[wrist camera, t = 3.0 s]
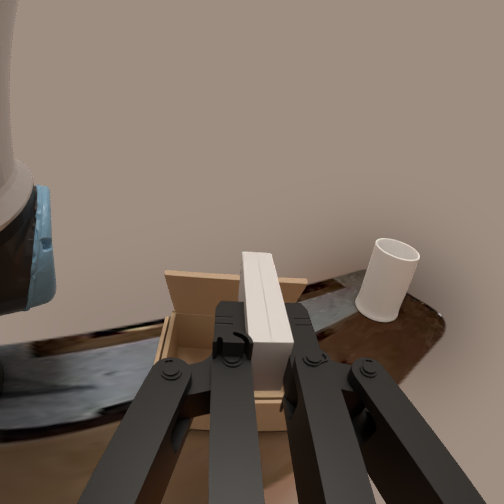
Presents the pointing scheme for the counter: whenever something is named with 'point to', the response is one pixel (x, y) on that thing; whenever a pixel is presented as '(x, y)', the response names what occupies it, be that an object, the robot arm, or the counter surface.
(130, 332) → the counter surface
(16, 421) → the counter surface
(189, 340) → the carton
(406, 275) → the mug
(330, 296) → the counter surface
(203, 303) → the flap
